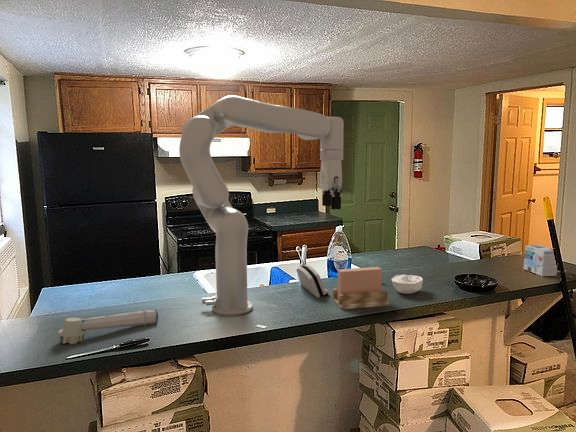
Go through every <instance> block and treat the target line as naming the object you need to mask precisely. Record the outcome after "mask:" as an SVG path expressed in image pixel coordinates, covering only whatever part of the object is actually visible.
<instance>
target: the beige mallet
mask: <svg viewBox="0 0 576 432" xmlns="http://www.w3.org/2000/svg"><path fill="white" fill-rule="evenodd" d="M158 322H159V312H158V310H157V309H149V310H146V309H142V310H138V311H130V312H123V313H116V314H109V315H108V314H107V315H103V316H96V317H95V316H94V317H86V318H80V317H68V318H66V319H65V320H64V321H63V324H62V328H61V329H60V330H58V333H57V334H58V336H59V343H60V344H64V345H65V344H66V343H67V344H69V345H74V344H77V343H78V342H82V341H84V338H85V334H86V333H87V331H91V330H92V331H94V330H104V329H114V328H126V327H136V326H137V327H138V326H143V327H145V326H146V325H153V324H157V323H158Z"/></svg>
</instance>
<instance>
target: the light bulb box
mask: <svg viewBox="0 0 576 432" xmlns="http://www.w3.org/2000/svg"><path fill="white" fill-rule="evenodd" d="M524 246H525V248H524V259H523V269H525V270H528V271H530V272H533V273H536V274H538V275H541V276H555V275H556V276H557V274H558V273H557V272H558V264H557V265H556V260H555V257H554V252H553V249H554V248H553V247H549V246H544V245H542V244H531V245H529V244H526V245H524Z"/></svg>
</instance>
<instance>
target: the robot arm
mask: <svg viewBox="0 0 576 432" xmlns="http://www.w3.org/2000/svg"><path fill="white" fill-rule="evenodd" d="M231 126H236V127H240V128H245V129H249V130H255V131H260V132H264V133H270V134H271V133H272V134H281V133H282V134H284V133H286V134H294V135H295V134H296V135H297V137H298V138H300V139H301V140H303V141H304V140H305V141H312V140H320V141H319V143H320V146H319V149H320V150H319V151H320V152H319V153H320V154H319V157H320V158H319V160H320V161H321V162H320V173H319V174H320V176H319V189H321V190H322V191H321V193H322V195H321V205H322V206H323V207H330V209H331V210H341V208H342V185H343V173H342V172H343V170H342V169H343V167H342V161H343V160H344V127H345V126H344V119H343V118H342V117H340V116H326V115H324V114H322V113H321V112H320V113H318V112H315V111H312V110H306V109H303V108H297V107H290V106H284V105H278V104H271V103H268V102H263V101H258V100H255V99H250V98H246V97H242V96H239V95H226V96H224V97H222V98H221V99H218V100H216V102H214V103H212V104H211V105H210V106H208V107H207V108H205V109H204V110H202V111H200V112H199V113H197V114H196V115H194V116H192V117H190V118H189V119H187V120H186V121H185V122H184V124H183V125H182V128H181V137H180V141H179V148H178V151H179V160H180V163H181V164H182V165H181V166H182V167H183V169H184V172H185V173H186V176H187V177H188V180H189V181H190V183H191V186H192V196H193V199H194V201H195V203H196V205H197V207H198V208H199V211H200V212H201V215H202V216H203V218H204V219H205V221H206V223H207V225H208V226H209V228H210V229H211V230H212V232H214V233H215V234H216V236H215V237H216V238H215V249H214V251H215V252H214V253H215V255H214V256H215V281H216V282H215V283H216V292H215V294H214V296H213V295H212V297H208V296H207V297H202V298H201V304H202V305H206V306H211V311H212V312H213V313H214V314H216V315H220V316H228V317H229V316H230V317H231V316H232V317H233V316H241V315H244V314H247V313H249V312H251V311H252V310H253V302H251V301H250V300H248V267H247V266H248V262H247V261H248V258H247V255H248V252H247V248H248V247H247V246H248V236H249V235H248V234H249V223H248V220H247V218H246V216H245V215H244V214H243V213H242V211H240V210H238V209H236V208H233V206H232V204H231V202H230V201H229V200H230V199H229V196H230V192H229V187H228V186H227V184H226V183H225V181H224V180H223V179H224V178H222V176H221V174H220V172H219V170H218V168H217V167H216V165H215V163H214V161H213V160H214V159H213V158H212V155H211V144H212V142H213V140H214V139H215V137H216V136H218V135H219V134H221V133H222V132H224V131H225V130H226V129H228V128H229V127H231Z"/></svg>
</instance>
